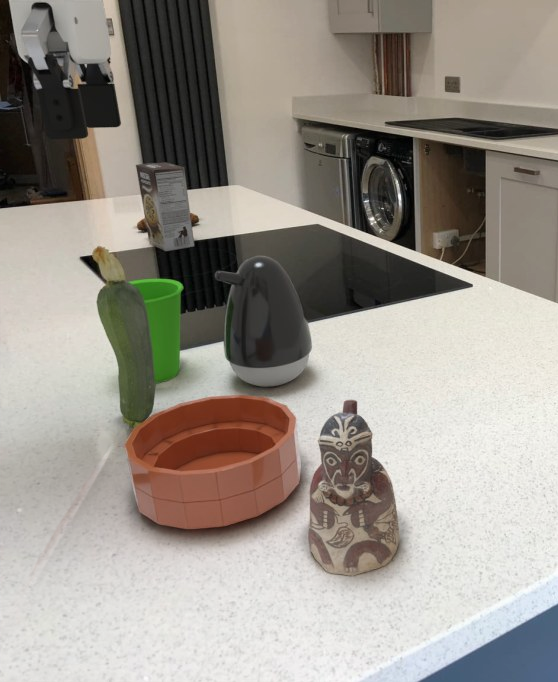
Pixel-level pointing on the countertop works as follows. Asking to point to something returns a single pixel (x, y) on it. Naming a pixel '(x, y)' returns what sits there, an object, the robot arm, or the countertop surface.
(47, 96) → the robot arm
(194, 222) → the croissant
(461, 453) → the countertop surface
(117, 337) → the vegetable
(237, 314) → the pump dispenser
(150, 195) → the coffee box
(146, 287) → the cup
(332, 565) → the figurine
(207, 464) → the bowl
